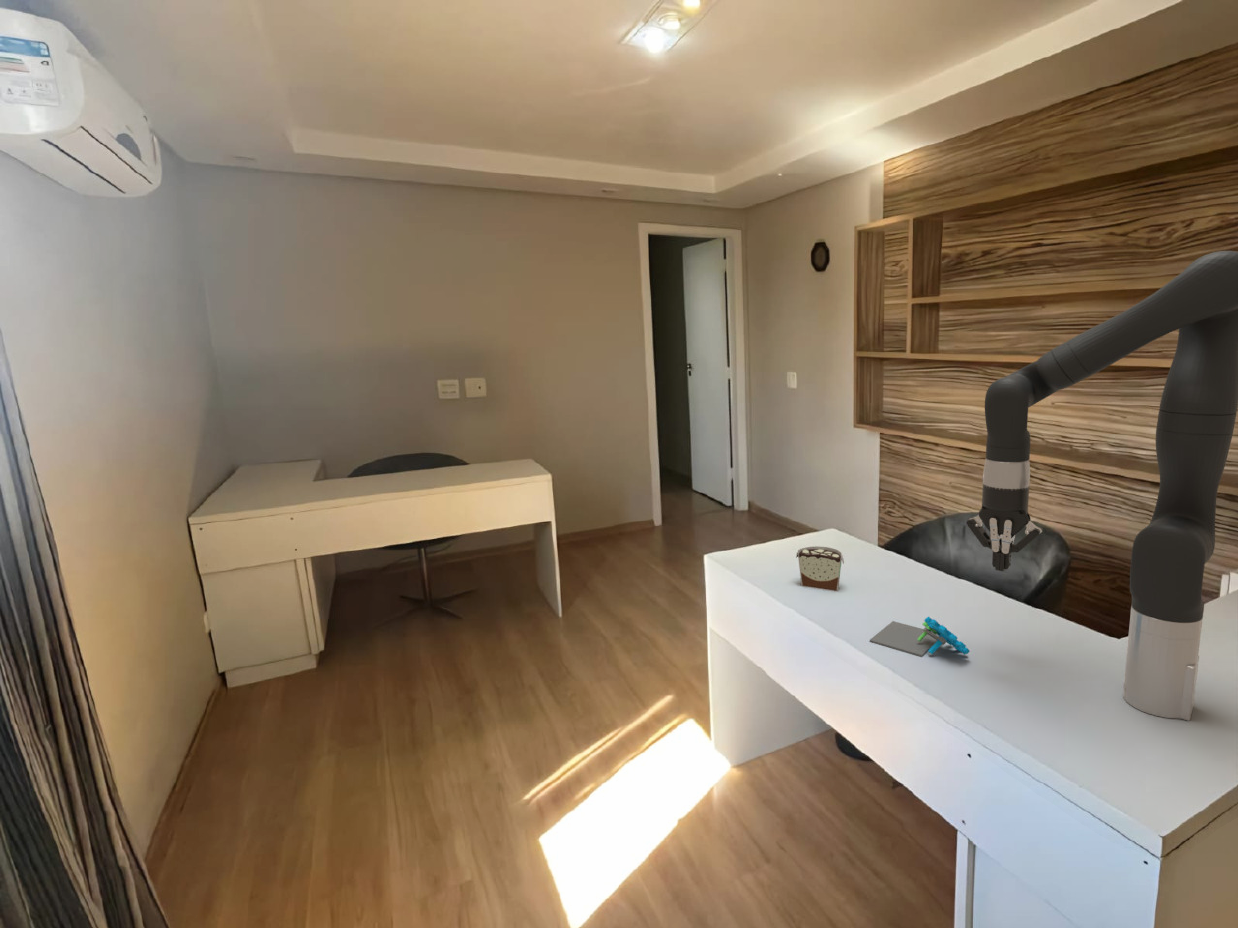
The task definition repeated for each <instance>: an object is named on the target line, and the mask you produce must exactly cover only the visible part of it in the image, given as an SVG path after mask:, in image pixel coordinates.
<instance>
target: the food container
mask: <svg viewBox="0 0 1238 928" xmlns="http://www.w3.org/2000/svg"><path fill="white" fill-rule="evenodd" d="M795 558H796V559H797V558H798V565H799V576H800V584H801V587H804V588H811V589H817V590H822V591H831V592H836V593H837V592H839V587H840V579H841V578H840V576H841V567H842V564H843V565H844V564H845V560H844V555H843V553H842V551H840V550H838V549H836V548H834V547H828V546H820V545H819V546H818V545H815V546H806V547H802V548H800V549H798V550H797V552H796V555H795Z"/></svg>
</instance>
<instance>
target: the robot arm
mask: <svg viewBox="0 0 1238 928" xmlns="http://www.w3.org/2000/svg"><path fill="white" fill-rule="evenodd" d="M1177 330H1178V335H1177V336H1178V337H1177V343H1176V349H1175V353H1174V356H1173V359H1172V362H1171V364H1170V368H1169V370H1168V373H1167V377H1166V380H1165V383H1164V388H1163V391H1162V395H1161V399H1160V402H1159V403H1160V404H1159V409H1158V415H1157V416H1158V417H1157V422H1156V428H1155V452H1156V459H1157V465H1158V471H1159V472H1158V473H1159V490H1158V494H1157V499H1156V502H1155V507H1154V511H1153V514H1152V517H1151V519H1150V522H1149V524H1148V525H1147V526H1145V527H1144V528H1143V529H1142V530H1140V531H1139V532H1138V533H1137V535H1135V537H1134V541H1133V543H1132V548H1131V557H1130V570H1129V571H1130V572H1129V574H1130V575H1129V593H1130V594H1131V607H1130V618H1129V625H1128V626H1129V628H1128V637H1127V638H1128V639H1127V647H1126V648H1127V649H1126V660H1125V670H1124V682H1123V692H1122V695H1123V696H1122V697H1123V700H1124V701H1125V702H1126V703H1127V704H1128V705H1130V706H1131V707H1133V708H1135V709H1137V710H1138V711H1140V712H1143V713H1146V714H1149V715H1152V716H1156V717H1159V718H1166V719H1177V720H1178V719H1179V720H1185V721H1191V718H1192V713H1193V709H1194V706H1195V704H1194V703H1195V696H1196V695H1195V694H1196V687H1197V680H1198V669H1199V661H1200V655H1199V652H1200V643H1201V635H1202V628H1203V627H1202V626H1203V620H1204V619H1203V618H1204V611H1205V610H1204V609H1205V603H1204V601H1203V598H1202V594H1203V592H1202V591H1203V583H1204V582H1203V580H1204V574H1205V565H1206V563H1207V562H1209V560H1210V559H1211V558H1212V556H1213V554H1214V551H1215V547H1216V511H1217V510H1216V508H1217V496H1218V490H1219V486H1220V483H1221V479H1222V476H1223V474H1224V473H1223V472H1224V470H1225V468H1226V467H1225V466H1226V464H1227V459H1228V456H1229V452H1230V447H1231V443H1232V438H1233V434H1234V429H1235V424H1236V417H1237V412H1238V251H1234V250H1221V251H1213V252H1210V253H1208V254H1204V255H1203V256H1200V257H1198V258H1197V259H1195V260H1194V261H1192V262H1191V263H1190V264H1189V265H1187V267H1185V269H1183V271H1182V272H1181V273H1179V274H1178V275H1176V276H1175V277H1174V278H1173V279H1171V280H1170V281H1169V282H1167V283H1166V284H1165V285H1164V286H1162V287H1161V288H1159V289H1158V290H1156V291H1155V292H1154V293H1152V294H1150V295H1149V296H1147V297H1146V298H1144V299H1143V300H1141V301H1139V302H1138V303H1136V304H1134V305H1133V306H1131V307H1130V308H1127V309H1126V310H1124V311H1122V312H1120V313H1119V314H1117V315H1115V316H1113V317H1111V318H1109V319H1107V320H1104V321H1103V322H1101V323H1099V324H1097V325H1095V326H1093V327H1091V328H1089V329H1087V330H1085V331H1084V332H1081V333H1080V334H1078V335H1076V336H1074V337H1072V338H1071V339H1069V340H1067V341H1065V342H1063V343H1061V344H1059V345H1057V346H1056V347H1053V349H1050V350H1049V351H1047V352H1046V353H1044V354H1043V355H1041V356H1040V357H1039V358H1037V360H1035V361H1033V362H1032V363H1030V364H1027V365H1025V366H1023V367H1022V368H1020V369H1018V370H1016V371H1014V372H1011V373H1010V374H1009V375H1007V376H1006V375H1005V376H1004V377H1001V378H998V379H997V380H995V381H993V382H992V383H990V384H989V387H987V390H986V392H985V397H984V398H985V399H984V417H985V418H984V419H985V425H986V432H987V434H986V435H987V436H986V445H985V446H986V447H985V460H984V461H985V463H984V466H983V473H982V474H983V475H982V493H981V494H982V495H981V497H982V498H981V508H980V510H979V511H978V514H977V515H976V516H974V517H971V518H969V519H968V520H967V521H966V525H967V527H968V528H969V530H971V532H972V534H973V535H974V537H976V539H977V540H978V541H979V543H980V544H981V545H982V546H983V548H988V549H991V551H992V560H991V562H992V563H991V564H992V567H993V568H995V569H994V570H995V571H998V572H1006V571H1007V570H1009V569H1010V567H1011V565H1012V553H1020V552H1021V551H1022V549H1024V548H1025V547H1026V546H1028V545H1029V544H1030V543H1031V542H1032V541H1033V540H1034V539H1036V538H1037V537H1038V536H1039V535H1040V534H1041V533H1042V532H1043V531H1044V529H1043V527H1042V526H1038V525H1036V524H1034V523H1033V522H1032V521H1031V519H1032V517H1031V516H1030V514H1029V498H1030V483H1031V466H1030V465H1031V464H1030V458H1031V457H1030V456H1031V455H1030V454H1031V434H1030V431H1029V430H1028V419H1029V417H1028V416H1029V408H1031V407H1032V406H1034V405H1035V404H1037V403H1039V402H1041V401H1042V400H1044V399H1047V398H1048V397H1049V396H1052V395H1053V394H1054V393H1057V392H1058V391H1061V390H1064V389H1066V388H1069V387H1071V386H1074V385H1075V384H1078V383H1079V382H1081V381H1083V380H1086V379H1088V378H1089V377H1091V376H1093V375H1095V374H1097V373H1099V372H1100V371H1102V370H1105V369H1106V368H1109V366H1111V365H1113V364H1115V363H1116V362H1118V361H1120V360H1122V359H1123V358H1125V357H1126V356H1129V355H1130V354H1131V353H1133V352H1136V351H1138V349H1141V348H1142V347H1144V346H1145V345H1148V344H1149V343H1152V342H1153V341H1154V342H1155V340H1158V339H1159V338H1161V337H1163V336H1165V335H1167V334H1171V333H1172V332H1174V331H1177ZM983 525H984V526H985V527H986V528H987V530H988V531H989V533H990V535H989V533H988V532H987V531H986V529H985V528H984V527H983ZM1025 527H1026V529H1025V531H1024V533H1025V535H1026V536H1024V537H1023V538H1022V539H1021V540H1019V541H1018V542H1017V543H1014V542H1015V538H1016V535H1018V534H1019V533H1020V532H1021V531H1022V530H1023V529H1024V528H1025Z"/></svg>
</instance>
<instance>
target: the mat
mask: <svg viewBox="0 0 1238 928" xmlns="http://www.w3.org/2000/svg"><path fill="white" fill-rule="evenodd" d="M923 629H924V628H921V627H917V626H913V625H910V624H906V623H902V622H899V621H894V620H892V621H891V622H890V623H889V624H887V625H886V626H885V627H884V628H882V629H881V630H880V631H878V632H877V633H876V634H875V635H873V637H871V638H870V639H869V642H870V643H873V644H875V645H876V644H877V645H880V646H882V647H883V646H884V647H887V648H890V649H892V650H893V649H894V650H896V651H900V652H904V653H907V654H910V655H914V656H918V657H921V658H923V656H925V655H926V653H927V652H928V650H929V649H930V648H931V647H932V646H933V645H934V644H935V643H936V642H937V640H936V639H934V638H933V637H931V636H930V635H928V634H927V635H926V636H925V637H924V638H923V639H922V640H921V641H918V640H917V639H918V638H919V637H920V636H921V635H922V634H923V632H924V631H923ZM931 632H932V631H931ZM932 633H933V632H932ZM933 634H934V633H933ZM934 635H935V634H934ZM936 636H937V637H939V636H938V635H937V634H936Z"/></svg>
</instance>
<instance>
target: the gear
mask: <svg viewBox="0 0 1238 928" xmlns="http://www.w3.org/2000/svg"><path fill="white" fill-rule="evenodd" d="M923 621H924V622H922V625H923V626H924V628H922V629H923V631H924V632H923V634H922V635H921V636H920V637H919V638H918V639H917V640H918V641H921V640H922V639H923V638H924V637H925V636H926V635H927V634H928V635H930V636H931V637H933V638H934V639H936V640H937V642H936V643H935V644H934V645H933V646H932V647H931V648H930V649H929V650H928V651H927V652H928V653H929V654H930V655H933V654H934V653H935V652H936V651H937V650H938V649H939V648H940V647H941V646H942V645H945V644H946V643H947V644H948V645H949V646H953V648H954V650H956V651H957V652H961V653H962V654H963V655H968V654H969V653H970V652H971V650H969V648H968V647H967V645H966V644H965V643H963V641H960V640H958V637H957V635H955V634H954V633H952V632H951V631H950V630H949V629H948V628H947V627H946V626H944V624H940V623H939V622H938V621H937V620H936V619H934V618H931V617H930V616H927V617H926V618H925V619H924V620H923ZM931 631H932V632H933V633H934V634H935V635H934V634H933V633H932V632H931ZM936 634H937V635H938V636H939V637H937V636H936Z"/></svg>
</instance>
